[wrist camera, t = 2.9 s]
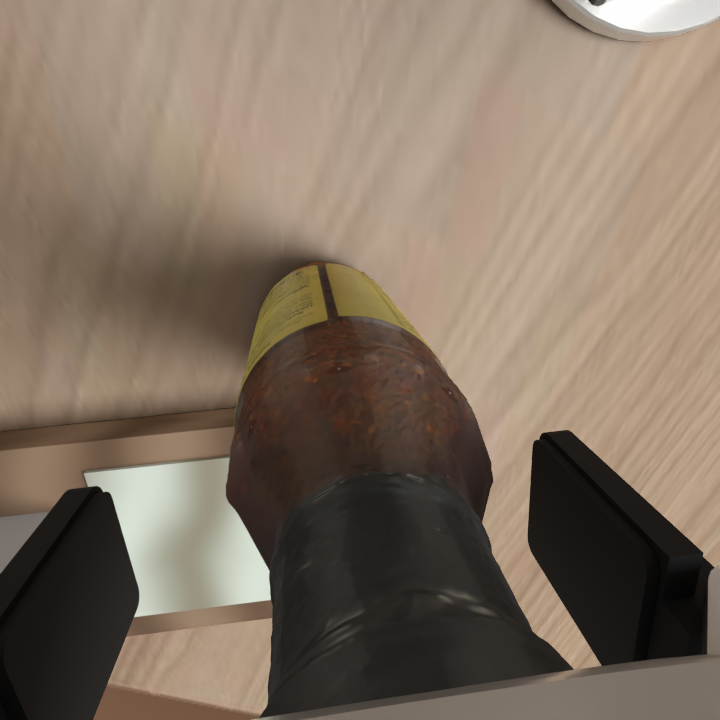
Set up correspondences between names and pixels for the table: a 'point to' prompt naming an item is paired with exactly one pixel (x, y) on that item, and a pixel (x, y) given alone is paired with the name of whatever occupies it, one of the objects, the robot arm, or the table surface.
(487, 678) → the sauce bottle
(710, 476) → the table surface
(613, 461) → the table surface
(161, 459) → the base board
